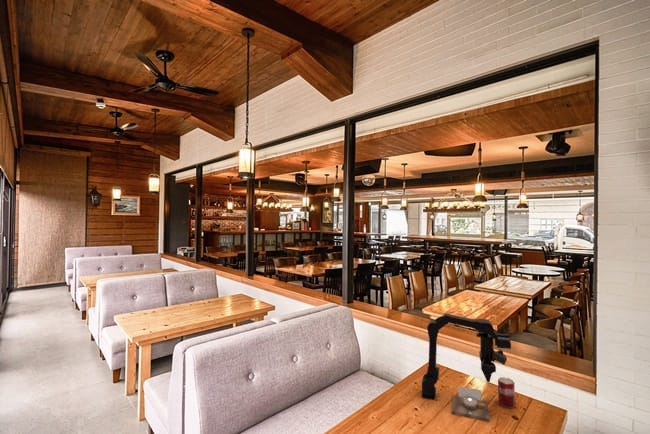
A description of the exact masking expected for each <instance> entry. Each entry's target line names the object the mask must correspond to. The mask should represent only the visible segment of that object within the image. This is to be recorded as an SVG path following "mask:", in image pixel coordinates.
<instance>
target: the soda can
mask: <svg viewBox="0 0 650 434" xmlns="http://www.w3.org/2000/svg"><path fill="white" fill-rule="evenodd" d="M515 390H516V389H515V382H514V380H513V379H511V378H509V377H505V376H504V377H503V376H501V377H499V378H498V379H497V393H498V394H497V399H498V400H497V401H498V404H499V405H501V407H504V408H505V409H506V408H508V409H513V408H514V407H515V406H516V394H515V393H516V391H515Z"/></svg>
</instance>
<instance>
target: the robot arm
mask: <svg viewBox="0 0 650 434" xmlns="http://www.w3.org/2000/svg"><path fill="white" fill-rule="evenodd" d="M447 324H451V325H456V326H461V327H466V328H470V329H474V330H475V331H477V332H476V333H475V337H477V338H479V339H480V344H479V346H480V347H479V348H480V349H479V351H478V352H479V354H478V355H479V360H480V370H481V372H482V373H483V374H482V375H484V378H485V380H486V382H487V383H490V382H491V378H492V374H493V373H496V372H497V367H496V366H497V365H496V364H495V362H498V363H500V364H502V365H503V366H504V365H505V364H506V363H507V361H508V358H507V355H506V354H504V351H503V350H502V349H506V350H511V349H512V343H511V338H510V337H511V336H510V334H509V333H497V331H496V329H495V328H494V327H493V323H492V321H491V320H490V319H487V318H468V317H463V316H459V315H454V314H450V313H444V314H443V315H441V316H438V317H437V318H435V319H431V320H429V321H428V324H427V329H426V330H427V335H428V340H429V341H428V349H429V350H428V365H427V371H426V373H425V374H424V375H423V376H422V381H421V398H423V399H428V400H435V398H436V397H437V387H436V384H437V383H438V381H439V380H440V367H439V366H437V348H438V347H437V346H438V345H437V343H438V336H439V331H440V330H441V329H442V328H444V327H445V326H446V325H447ZM494 346H496V348H498V350H495V348H494Z"/></svg>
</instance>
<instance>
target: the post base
mask: <svg viewBox="0 0 650 434" xmlns="http://www.w3.org/2000/svg"><path fill="white" fill-rule="evenodd" d="M451 403H452V405H451V406H452V408H451V414H452V415H455V416H459V417H464V418H469V419H474V420H479V421H484V422H488V423H490V413H489V405H488V401H487V400H482V399H481V400H478V403H479V404H485V408H483V407H478V408H477V409H475V410H471V409H467V408H465V407H464V406H463V405H462V397H460V396H459V395H455V394H453V395H452V402H451Z"/></svg>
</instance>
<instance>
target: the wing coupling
mask: <svg viewBox="0 0 650 434" xmlns="http://www.w3.org/2000/svg"><path fill="white" fill-rule="evenodd" d="M458 396H460V397H462V405H463V406H464V407H465V408H467V409H471V410H475V409H477V408H478V407H483V408H485V404H479V403H478V400H482V389H476V388H472V387H471V388H470V387H465V386H459V385H458Z"/></svg>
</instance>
